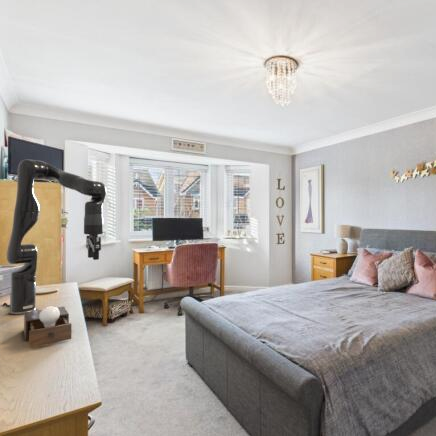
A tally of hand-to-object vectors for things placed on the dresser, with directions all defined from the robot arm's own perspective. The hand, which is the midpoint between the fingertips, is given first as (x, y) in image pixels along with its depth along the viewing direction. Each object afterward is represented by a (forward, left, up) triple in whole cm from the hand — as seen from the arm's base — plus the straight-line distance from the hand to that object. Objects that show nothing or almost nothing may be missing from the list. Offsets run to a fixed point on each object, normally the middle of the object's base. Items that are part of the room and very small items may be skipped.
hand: (93, 258), depth 147 cm
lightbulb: (+8, -25, -26) cm, 37 cm away
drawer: (+9, -25, -27) cm, 38 cm away
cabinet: (-2, -19, -28) cm, 34 cm away
